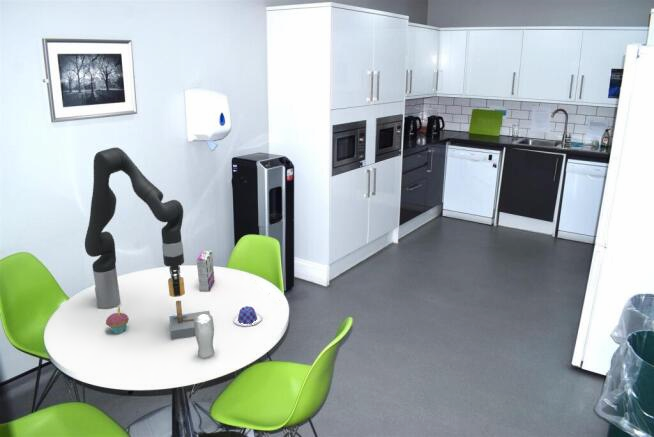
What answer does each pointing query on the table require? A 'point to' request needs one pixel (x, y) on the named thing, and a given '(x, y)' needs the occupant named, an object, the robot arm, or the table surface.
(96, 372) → the table surface
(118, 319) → the cupcake
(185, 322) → the box
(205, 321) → the beer glass
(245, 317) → the pudding
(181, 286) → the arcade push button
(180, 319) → the wooden post
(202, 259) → the candy bar box
